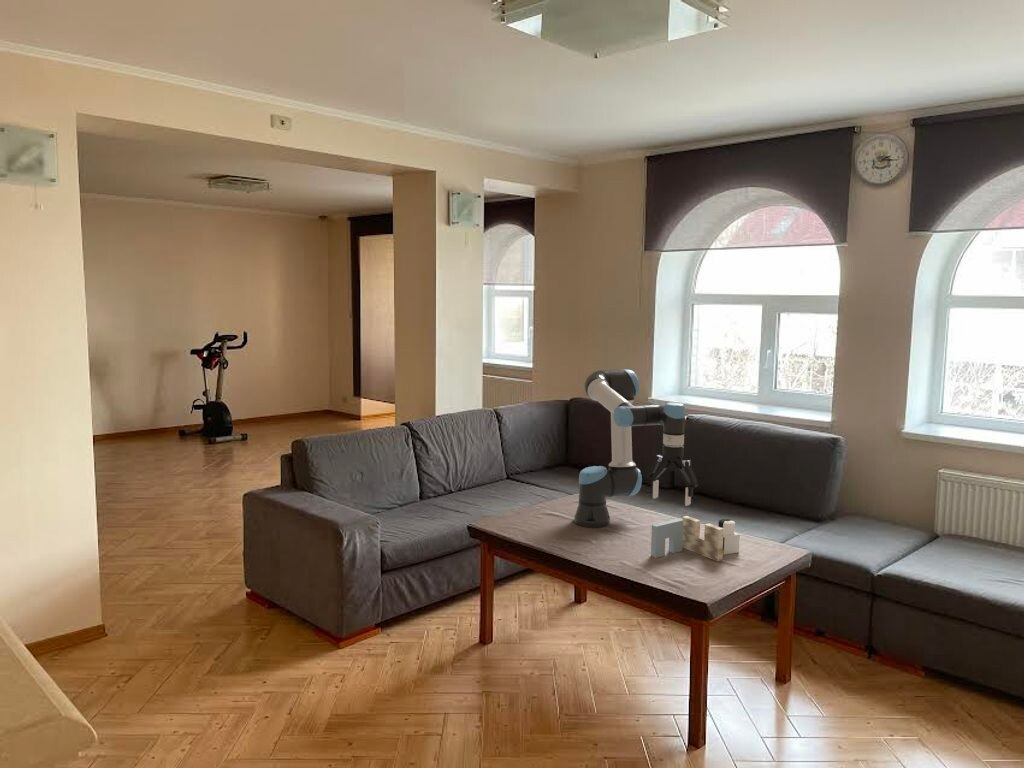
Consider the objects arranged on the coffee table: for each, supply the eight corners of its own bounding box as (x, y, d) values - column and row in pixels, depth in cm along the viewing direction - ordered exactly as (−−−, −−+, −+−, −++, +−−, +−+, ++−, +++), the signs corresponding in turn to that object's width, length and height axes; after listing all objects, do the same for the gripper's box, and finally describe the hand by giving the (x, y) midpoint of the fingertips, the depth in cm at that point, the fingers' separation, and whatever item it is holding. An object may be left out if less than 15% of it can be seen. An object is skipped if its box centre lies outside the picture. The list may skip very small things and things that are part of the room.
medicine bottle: (712, 548, 283) (713, 518, 282) (727, 546, 286) (728, 516, 284) (723, 555, 277) (724, 524, 275) (739, 552, 279) (740, 522, 278)
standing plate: (681, 546, 285) (682, 516, 284) (685, 545, 287) (686, 515, 285) (717, 561, 270) (719, 529, 269) (722, 560, 272) (723, 528, 270)
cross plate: (655, 557, 273) (656, 526, 272) (650, 555, 275) (651, 524, 274) (682, 550, 281) (683, 520, 280) (677, 548, 283) (678, 518, 281)
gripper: (638, 441, 277) (637, 496, 280) (699, 451, 261) (696, 510, 263) (649, 438, 283) (647, 492, 286) (709, 448, 266) (706, 505, 269)
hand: (671, 501), depth 275 cm, fingers open, 13 cm apart
